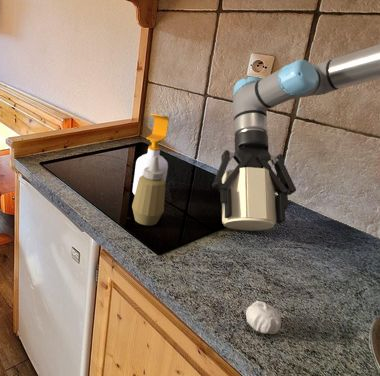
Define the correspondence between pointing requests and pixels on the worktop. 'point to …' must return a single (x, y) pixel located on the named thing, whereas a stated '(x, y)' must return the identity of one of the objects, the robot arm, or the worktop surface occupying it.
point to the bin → (251, 200)
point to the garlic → (263, 318)
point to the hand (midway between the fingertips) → (254, 219)
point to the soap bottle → (153, 150)
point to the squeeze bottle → (149, 195)
